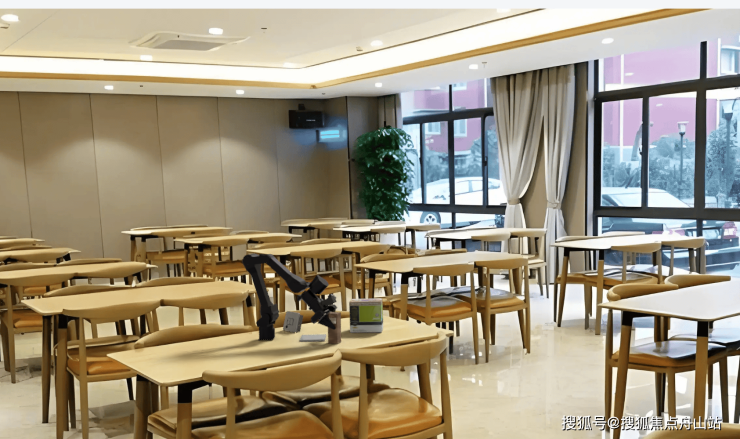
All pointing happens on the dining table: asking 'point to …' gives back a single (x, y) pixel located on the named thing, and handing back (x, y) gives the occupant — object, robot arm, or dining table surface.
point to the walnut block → (335, 335)
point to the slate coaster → (313, 338)
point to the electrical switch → (292, 321)
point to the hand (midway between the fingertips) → (337, 327)
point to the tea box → (366, 315)
